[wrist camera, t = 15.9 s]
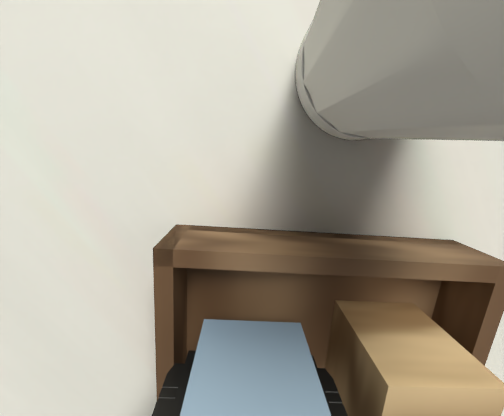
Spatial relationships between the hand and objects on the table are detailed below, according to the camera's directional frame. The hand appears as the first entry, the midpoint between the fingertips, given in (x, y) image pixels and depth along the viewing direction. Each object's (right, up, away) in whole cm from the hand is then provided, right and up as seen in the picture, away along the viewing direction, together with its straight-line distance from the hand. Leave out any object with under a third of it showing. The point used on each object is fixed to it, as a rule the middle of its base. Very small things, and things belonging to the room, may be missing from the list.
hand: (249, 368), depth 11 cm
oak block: (+7, 0, +3) cm, 7 cm away
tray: (+3, 0, +3) cm, 5 cm away
